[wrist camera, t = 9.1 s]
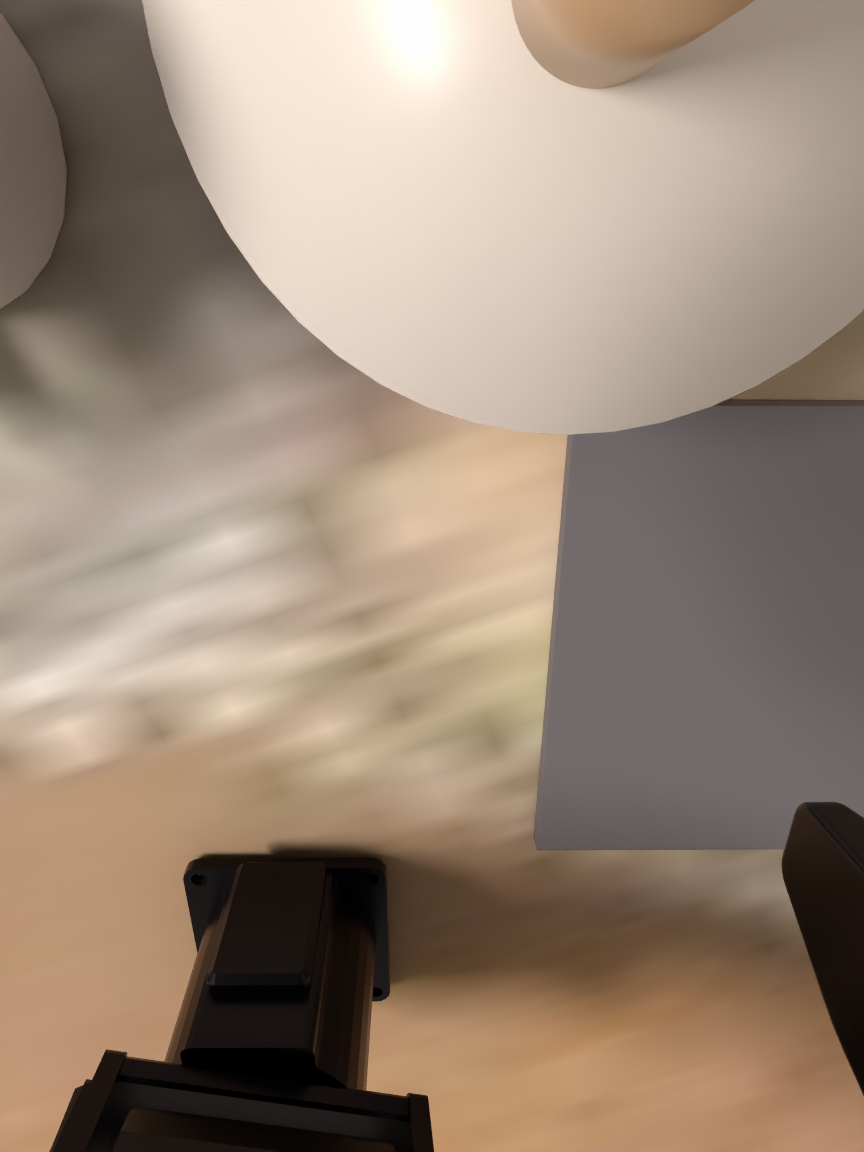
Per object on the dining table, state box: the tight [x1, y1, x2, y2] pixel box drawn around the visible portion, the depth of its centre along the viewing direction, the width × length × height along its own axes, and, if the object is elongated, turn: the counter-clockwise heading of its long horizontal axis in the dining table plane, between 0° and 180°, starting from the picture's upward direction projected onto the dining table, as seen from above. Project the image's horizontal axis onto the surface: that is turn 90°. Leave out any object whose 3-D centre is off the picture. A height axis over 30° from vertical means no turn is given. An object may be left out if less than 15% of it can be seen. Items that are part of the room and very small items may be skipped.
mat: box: [534, 400, 864, 850], centre depth 21 cm, size 14×14×1 cm
